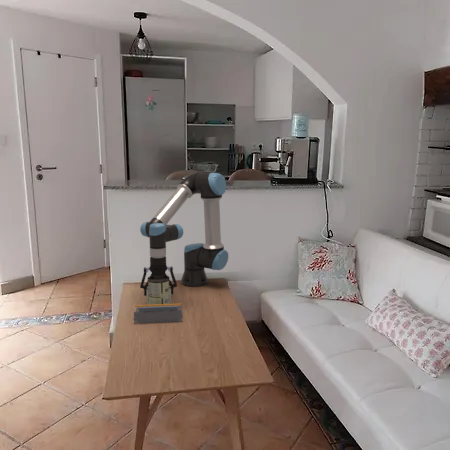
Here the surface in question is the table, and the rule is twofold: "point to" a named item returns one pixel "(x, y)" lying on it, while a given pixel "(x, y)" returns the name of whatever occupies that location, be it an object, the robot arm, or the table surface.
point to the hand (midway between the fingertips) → (159, 301)
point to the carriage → (157, 307)
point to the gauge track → (158, 316)
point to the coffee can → (158, 290)
